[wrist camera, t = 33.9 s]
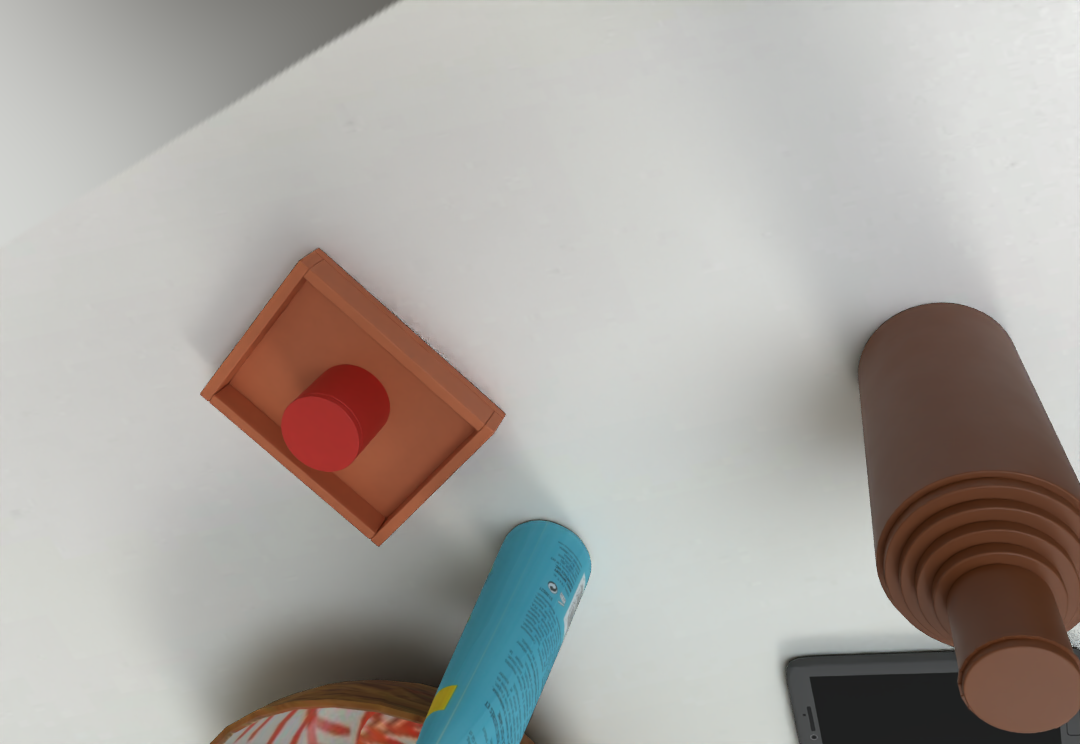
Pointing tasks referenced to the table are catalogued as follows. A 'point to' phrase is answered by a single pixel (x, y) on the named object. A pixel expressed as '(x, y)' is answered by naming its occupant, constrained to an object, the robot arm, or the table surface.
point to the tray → (386, 352)
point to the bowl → (340, 716)
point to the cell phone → (895, 703)
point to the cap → (335, 418)
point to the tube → (510, 638)
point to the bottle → (974, 510)
